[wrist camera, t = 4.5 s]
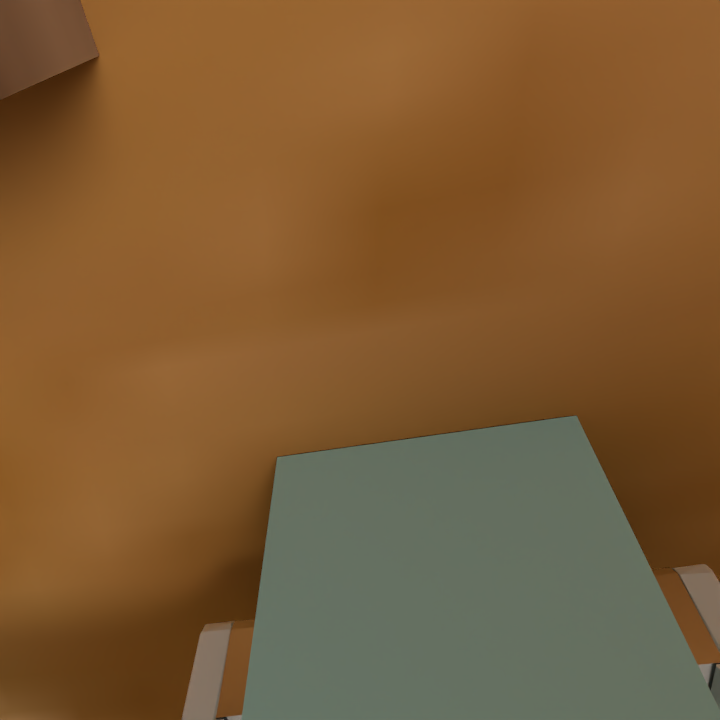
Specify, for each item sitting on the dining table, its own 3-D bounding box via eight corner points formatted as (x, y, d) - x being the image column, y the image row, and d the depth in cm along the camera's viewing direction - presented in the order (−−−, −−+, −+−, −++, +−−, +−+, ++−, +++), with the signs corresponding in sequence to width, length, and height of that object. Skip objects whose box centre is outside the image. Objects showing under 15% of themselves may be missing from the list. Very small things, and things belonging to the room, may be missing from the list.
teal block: (576, 415, 11) (727, 724, 6) (573, 607, 13) (677, 915, 9) (277, 457, 11) (233, 776, 7) (332, 636, 14) (325, 944, 9)
